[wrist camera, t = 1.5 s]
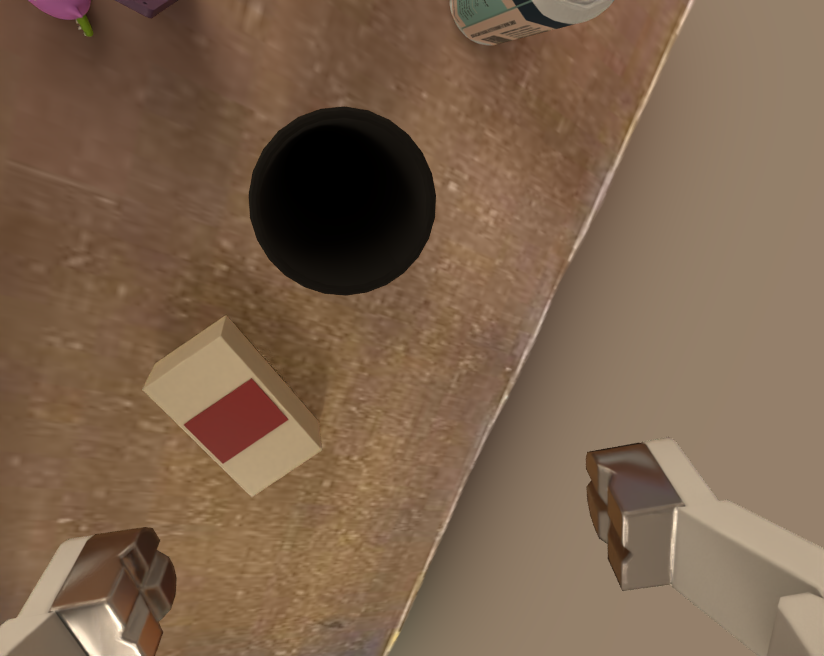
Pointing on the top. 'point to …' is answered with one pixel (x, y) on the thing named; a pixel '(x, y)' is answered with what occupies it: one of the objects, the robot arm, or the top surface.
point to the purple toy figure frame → (74, 4)
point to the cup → (342, 201)
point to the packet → (235, 406)
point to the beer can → (520, 17)
